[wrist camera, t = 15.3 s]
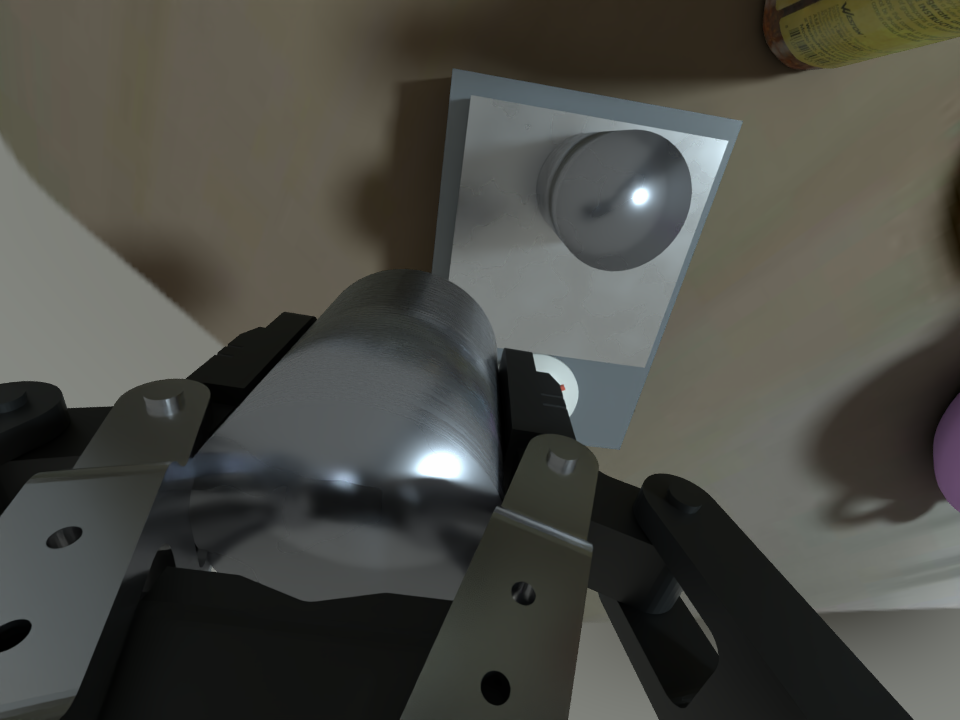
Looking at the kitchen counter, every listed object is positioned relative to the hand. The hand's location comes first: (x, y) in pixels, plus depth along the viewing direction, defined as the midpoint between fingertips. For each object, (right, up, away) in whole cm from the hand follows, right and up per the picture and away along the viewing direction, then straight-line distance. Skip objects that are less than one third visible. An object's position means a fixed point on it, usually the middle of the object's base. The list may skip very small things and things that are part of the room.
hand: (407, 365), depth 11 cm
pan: (+7, +6, +12) cm, 15 cm away
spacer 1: (0, 0, +1) cm, 1 cm away
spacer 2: (+7, +8, +10) cm, 15 cm away
